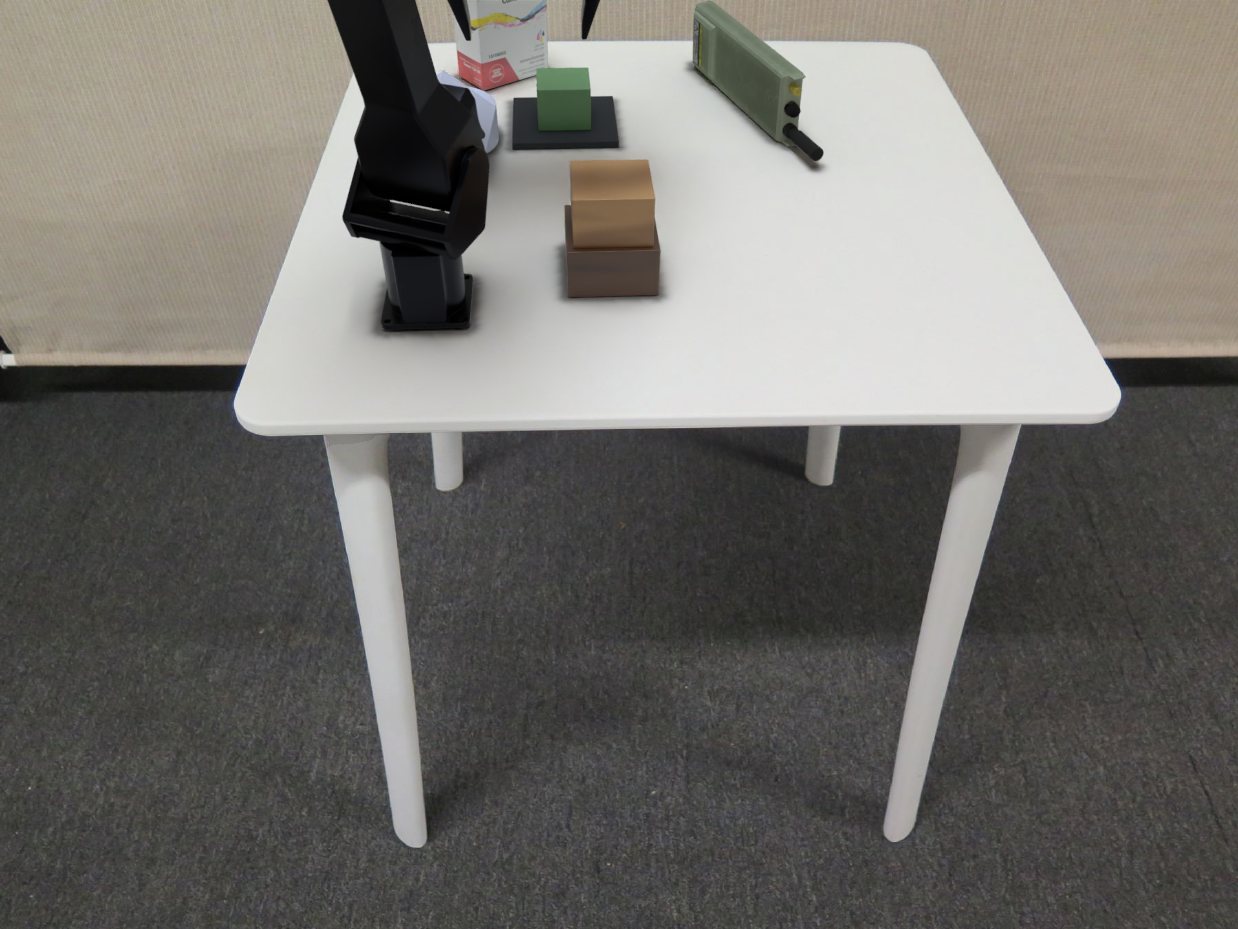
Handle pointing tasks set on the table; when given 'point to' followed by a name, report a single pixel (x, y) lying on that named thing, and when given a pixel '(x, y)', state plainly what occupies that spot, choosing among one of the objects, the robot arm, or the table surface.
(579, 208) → the oak block
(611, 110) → the mat
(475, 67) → the ink cartridge box
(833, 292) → the table surface
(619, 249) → the walnut block
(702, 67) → the handheld radio
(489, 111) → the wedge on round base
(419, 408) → the table surface
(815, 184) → the table surface
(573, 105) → the green block
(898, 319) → the table surface
